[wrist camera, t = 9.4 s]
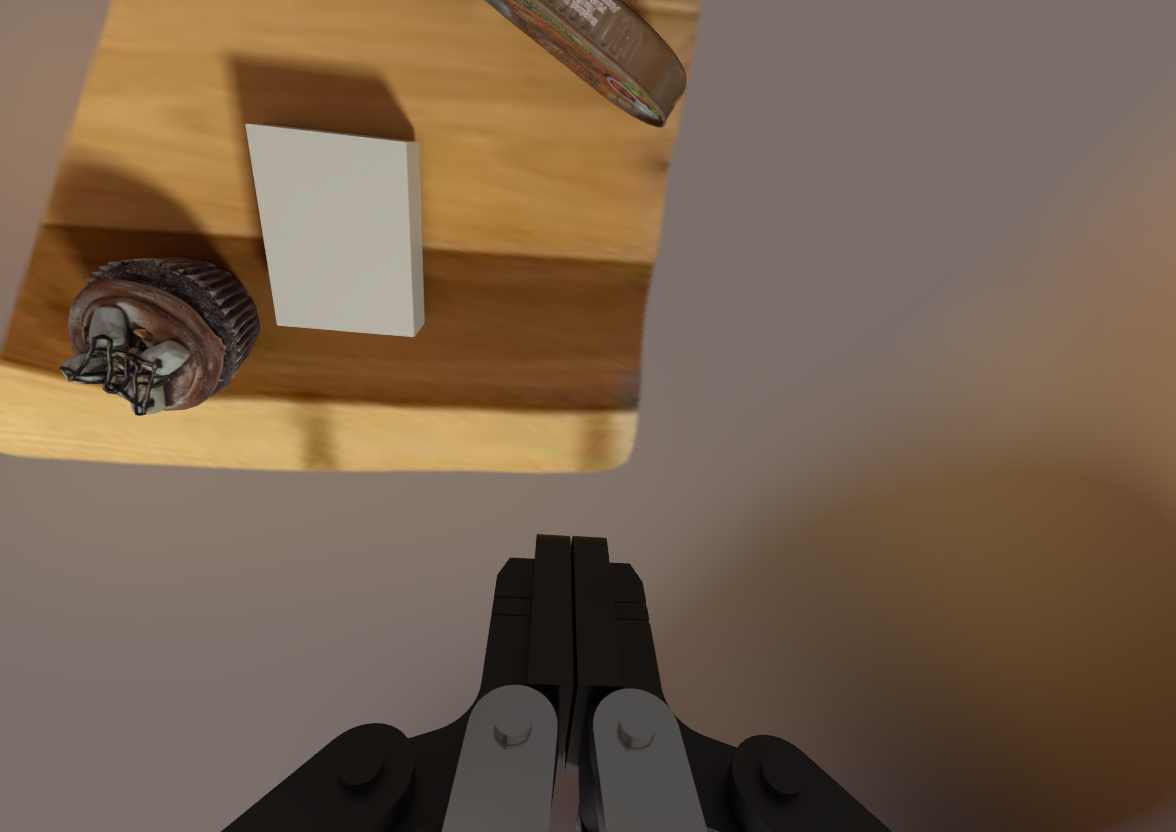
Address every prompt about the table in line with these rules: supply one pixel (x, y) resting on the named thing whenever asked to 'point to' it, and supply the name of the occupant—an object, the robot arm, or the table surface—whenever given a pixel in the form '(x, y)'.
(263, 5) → the table surface
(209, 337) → the cupcake
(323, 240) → the tile
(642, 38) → the tin
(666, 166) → the table surface
